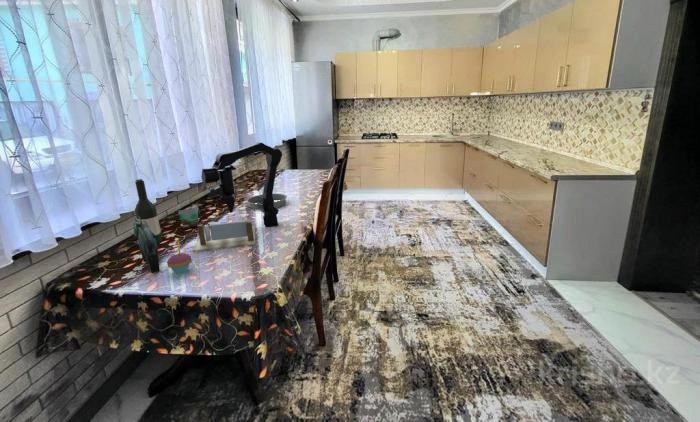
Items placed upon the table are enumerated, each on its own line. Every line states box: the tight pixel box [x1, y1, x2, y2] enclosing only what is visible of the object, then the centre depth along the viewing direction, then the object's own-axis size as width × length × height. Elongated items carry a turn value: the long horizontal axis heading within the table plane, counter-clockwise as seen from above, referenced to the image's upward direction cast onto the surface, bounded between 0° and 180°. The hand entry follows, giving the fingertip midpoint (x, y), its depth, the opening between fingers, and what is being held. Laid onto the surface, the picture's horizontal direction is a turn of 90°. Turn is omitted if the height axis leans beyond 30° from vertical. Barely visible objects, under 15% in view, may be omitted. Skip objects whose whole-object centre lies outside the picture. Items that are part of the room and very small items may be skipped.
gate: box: [203, 220, 247, 241], centre depth 159 cm, size 18×2×7 cm, turn 104°
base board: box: [192, 225, 257, 253], centre depth 166 cm, size 26×24×1 cm
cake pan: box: [246, 193, 288, 211], centre depth 222 cm, size 25×25×4 cm
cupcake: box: [166, 240, 192, 275], centre depth 133 cm, size 9×8×12 cm
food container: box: [177, 203, 200, 229], centre depth 187 cm, size 12×6×10 cm, turn 168°
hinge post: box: [196, 223, 206, 245], centre depth 157 cm, size 2×2×9 cm
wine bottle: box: [134, 178, 163, 245], centre depth 162 cm, size 8×8×30 cm
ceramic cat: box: [132, 216, 161, 274], centre depth 139 cm, size 20×6×20 cm, turn 37°
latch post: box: [245, 219, 254, 241], centre depth 160 cm, size 3×3×9 cm
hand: (231, 212), depth 170 cm, fingers closed
